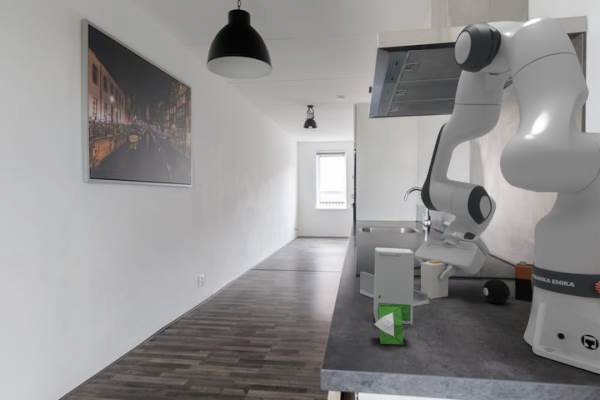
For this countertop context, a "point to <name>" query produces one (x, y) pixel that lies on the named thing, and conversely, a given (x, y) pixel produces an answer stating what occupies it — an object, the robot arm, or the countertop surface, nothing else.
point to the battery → (523, 281)
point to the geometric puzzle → (390, 325)
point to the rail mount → (368, 289)
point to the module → (433, 279)
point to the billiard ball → (496, 291)
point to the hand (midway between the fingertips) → (432, 278)
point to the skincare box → (394, 281)
